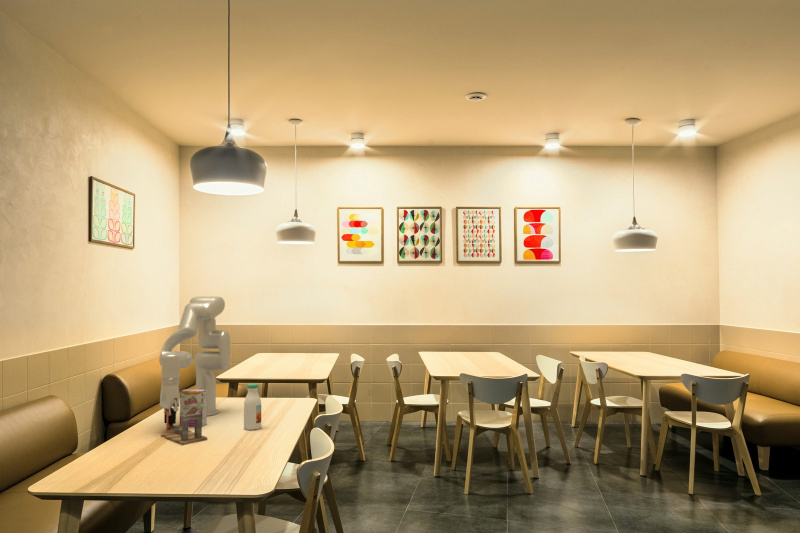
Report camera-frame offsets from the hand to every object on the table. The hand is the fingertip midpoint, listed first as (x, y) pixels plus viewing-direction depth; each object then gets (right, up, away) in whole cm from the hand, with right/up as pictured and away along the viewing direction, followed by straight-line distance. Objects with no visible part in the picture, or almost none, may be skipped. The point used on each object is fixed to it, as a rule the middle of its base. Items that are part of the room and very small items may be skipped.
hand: (170, 423), depth 247 cm
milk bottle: (+35, -5, +7) cm, 36 cm away
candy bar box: (+6, -5, +12) cm, 14 cm away
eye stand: (+10, -4, -9) cm, 14 cm away
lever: (+5, -3, -5) cm, 8 cm away
